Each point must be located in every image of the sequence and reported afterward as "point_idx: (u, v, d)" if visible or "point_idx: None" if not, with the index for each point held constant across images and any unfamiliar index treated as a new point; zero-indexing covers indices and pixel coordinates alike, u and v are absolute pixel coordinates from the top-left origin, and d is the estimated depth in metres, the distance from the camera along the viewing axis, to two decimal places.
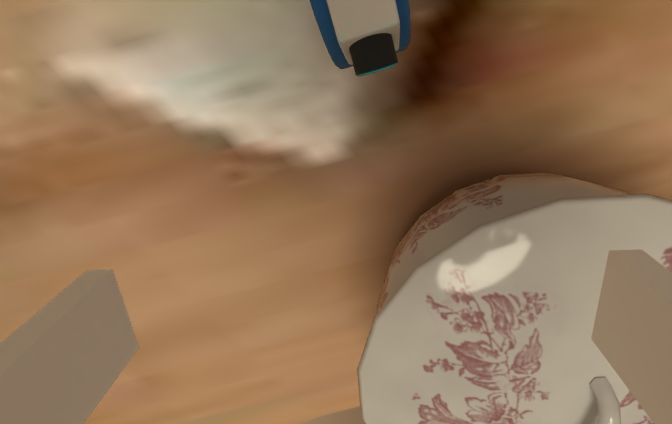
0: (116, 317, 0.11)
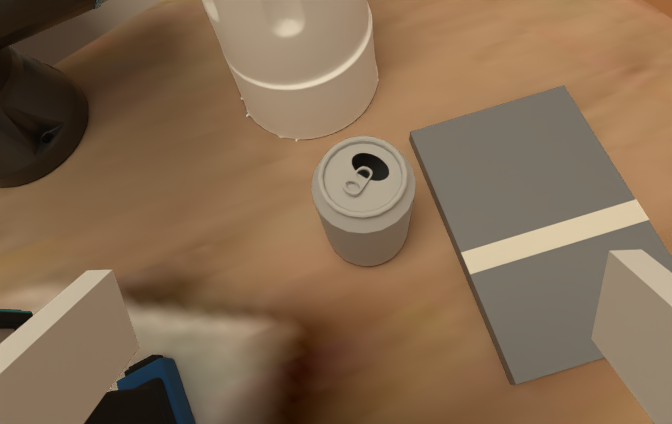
0: (116, 317, 0.11)
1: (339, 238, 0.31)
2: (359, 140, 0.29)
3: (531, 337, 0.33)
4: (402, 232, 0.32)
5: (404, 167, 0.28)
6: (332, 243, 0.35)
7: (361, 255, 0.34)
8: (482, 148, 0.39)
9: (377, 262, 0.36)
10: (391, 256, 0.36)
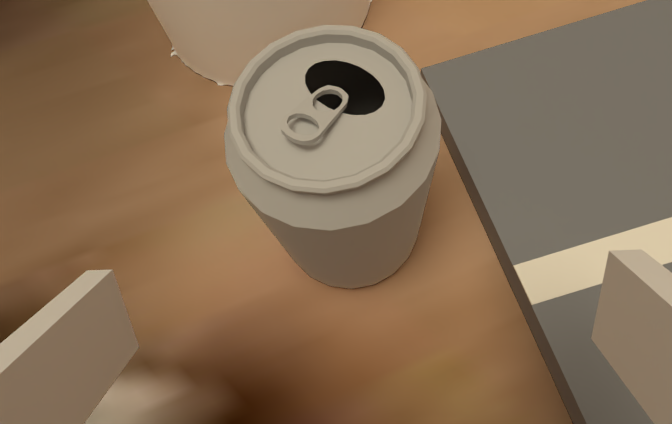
0: (116, 317, 0.11)
1: (287, 241, 0.16)
2: (321, 33, 0.14)
3: None
4: (411, 229, 0.17)
5: (418, 83, 0.12)
6: (285, 249, 0.20)
7: (335, 272, 0.18)
8: (540, 92, 0.24)
9: (366, 282, 0.21)
10: (390, 272, 0.21)
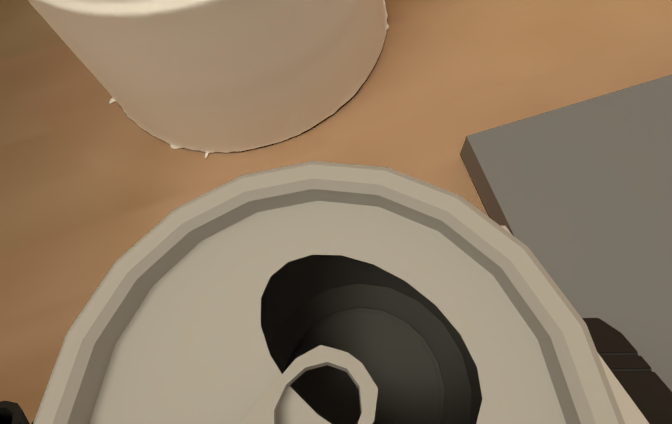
0: None
1: None
2: (305, 187, 0.05)
3: None
4: None
5: (598, 386, 0.04)
6: None
7: None
8: (656, 179, 0.15)
9: None
10: None
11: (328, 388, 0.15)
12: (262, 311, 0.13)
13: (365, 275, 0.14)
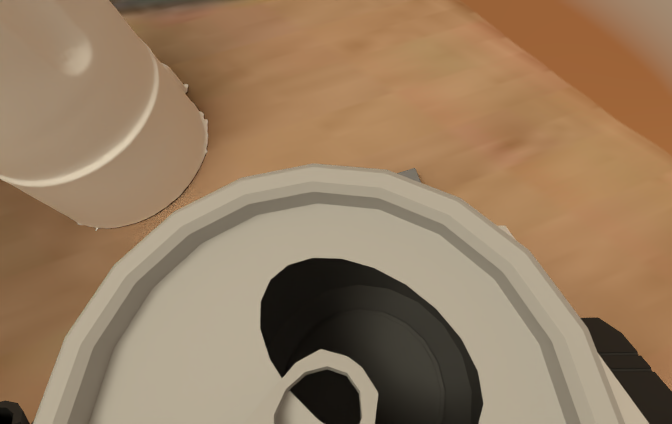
0: None
1: None
2: (305, 190, 0.05)
3: None
4: None
5: (600, 391, 0.04)
6: None
7: None
8: None
9: None
10: None
11: (328, 390, 0.15)
12: (262, 313, 0.13)
13: (365, 276, 0.14)
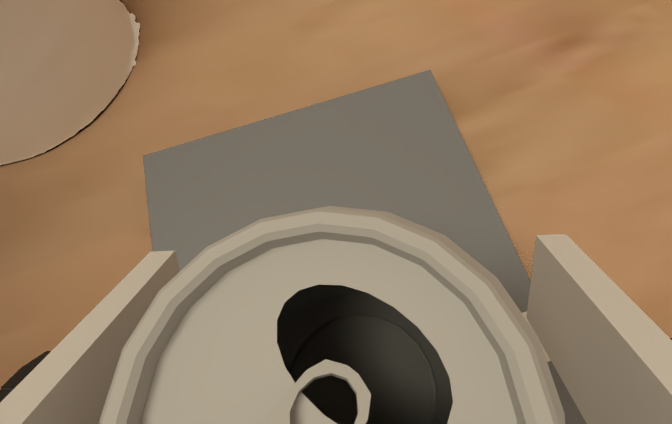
0: None
1: None
2: (313, 230, 0.07)
3: None
4: None
5: (538, 393, 0.05)
6: None
7: None
8: (262, 189, 0.20)
9: None
10: None
11: (329, 390, 0.16)
12: None
13: None
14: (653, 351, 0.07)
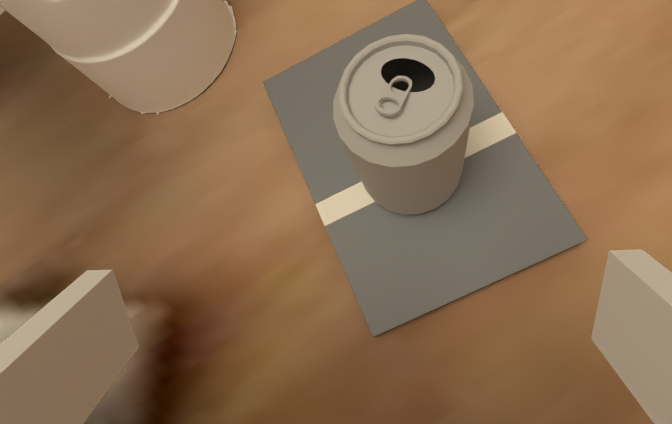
0: (116, 317, 0.11)
1: (380, 181, 0.24)
2: (387, 42, 0.21)
3: (388, 284, 0.30)
4: (460, 161, 0.25)
5: (455, 65, 0.20)
6: (371, 192, 0.28)
7: (410, 200, 0.26)
8: (337, 85, 0.35)
9: (430, 206, 0.29)
10: (447, 196, 0.29)
11: None
12: None
13: None
14: None
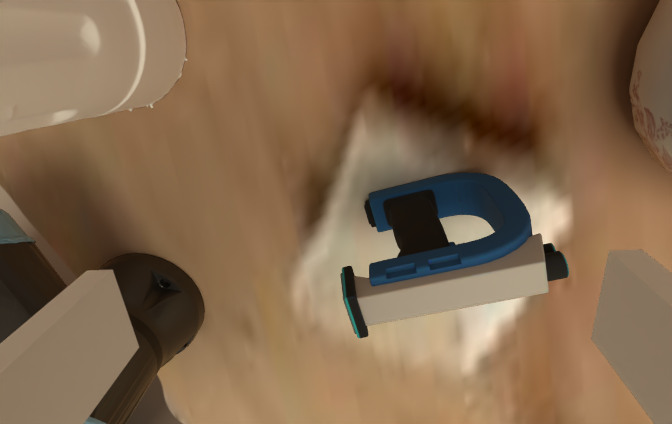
0: (116, 317, 0.11)
1: None
2: None
3: None
4: None
5: None
6: None
7: None
8: None
9: None
10: None
11: None
12: None
13: None
14: None
